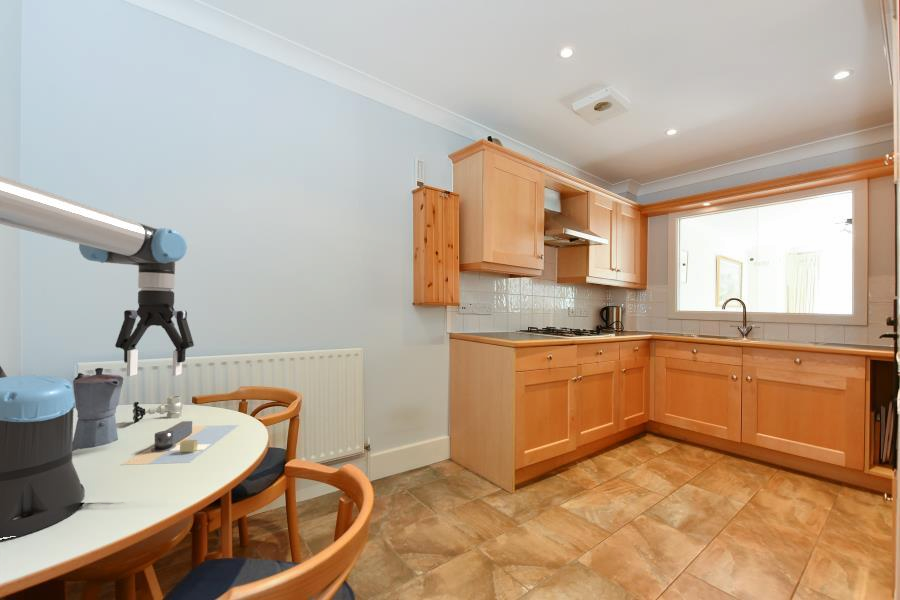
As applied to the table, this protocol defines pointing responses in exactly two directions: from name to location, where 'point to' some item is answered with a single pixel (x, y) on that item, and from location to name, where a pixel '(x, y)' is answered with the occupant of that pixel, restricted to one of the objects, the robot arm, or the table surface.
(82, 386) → the moka pot
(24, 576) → the table surface
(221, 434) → the door panel
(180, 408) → the valve
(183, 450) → the block
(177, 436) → the latch bar
